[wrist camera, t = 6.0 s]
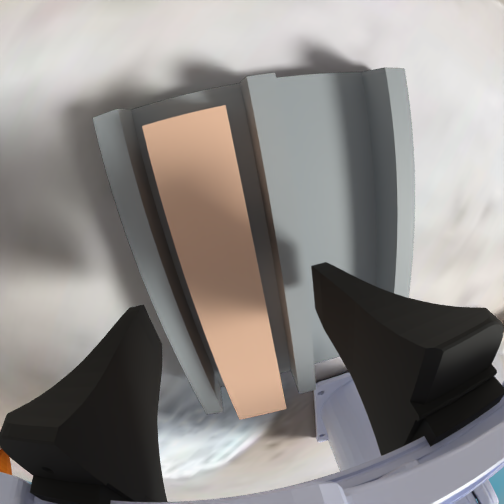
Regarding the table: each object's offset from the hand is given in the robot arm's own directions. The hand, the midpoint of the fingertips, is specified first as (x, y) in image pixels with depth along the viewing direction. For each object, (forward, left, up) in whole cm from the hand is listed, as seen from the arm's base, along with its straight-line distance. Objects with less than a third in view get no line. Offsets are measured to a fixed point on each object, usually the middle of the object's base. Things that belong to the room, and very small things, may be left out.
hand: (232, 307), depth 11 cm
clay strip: (0, 0, -3) cm, 3 cm away
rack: (0, -3, -4) cm, 5 cm away
